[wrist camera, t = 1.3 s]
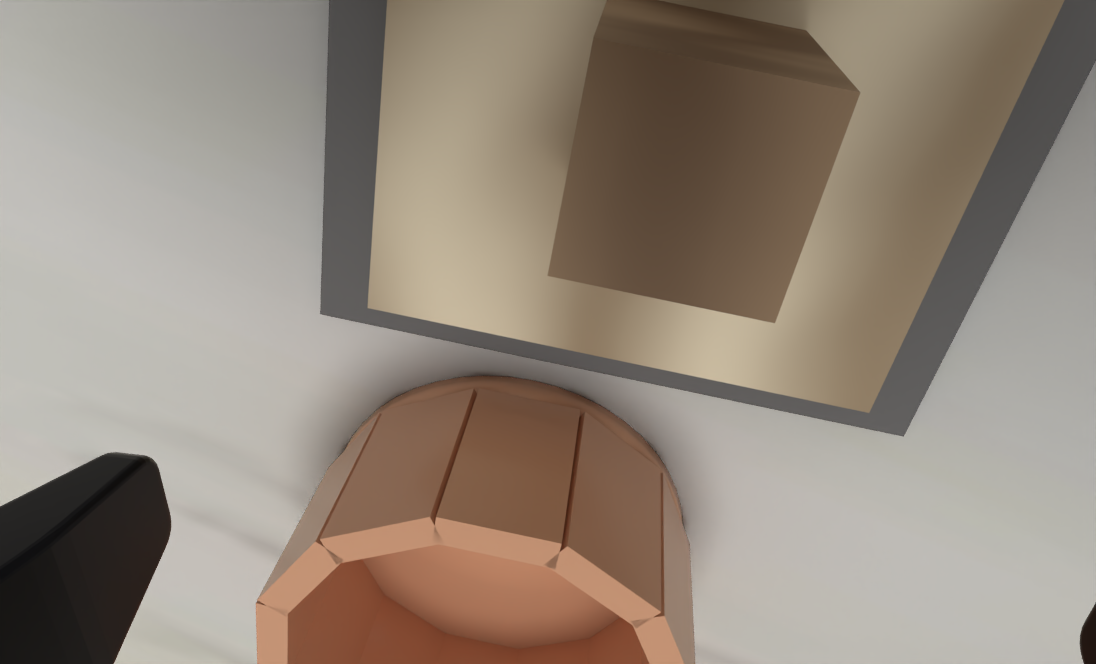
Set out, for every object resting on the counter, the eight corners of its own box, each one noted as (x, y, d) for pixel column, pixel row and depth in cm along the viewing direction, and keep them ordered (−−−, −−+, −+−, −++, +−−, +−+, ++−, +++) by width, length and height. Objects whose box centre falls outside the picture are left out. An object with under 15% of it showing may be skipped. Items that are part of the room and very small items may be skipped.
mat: (1234, -236, 14) (1247, -238, 14) (899, 427, 22) (903, 436, 22) (348, -412, 14) (341, -418, 14) (325, 307, 22) (320, 314, 22)
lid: (1130, -187, 14) (1379, -212, 9) (862, 395, 21) (925, 560, 16) (420, -329, 15) (297, -426, 10) (376, 293, 21) (291, 425, 16)
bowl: (726, 419, 23) (746, 583, 18) (637, 664, 28) (633, 843, 23) (343, 338, 23) (252, 477, 18) (331, 599, 28) (259, 763, 23)
